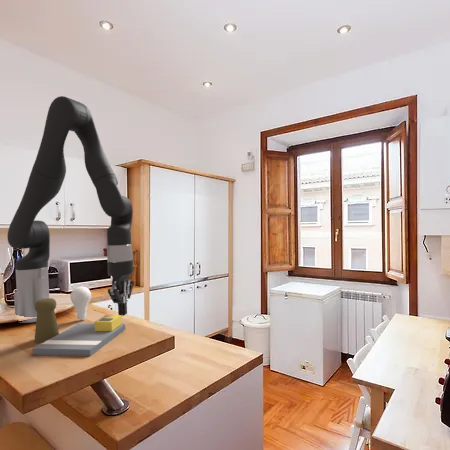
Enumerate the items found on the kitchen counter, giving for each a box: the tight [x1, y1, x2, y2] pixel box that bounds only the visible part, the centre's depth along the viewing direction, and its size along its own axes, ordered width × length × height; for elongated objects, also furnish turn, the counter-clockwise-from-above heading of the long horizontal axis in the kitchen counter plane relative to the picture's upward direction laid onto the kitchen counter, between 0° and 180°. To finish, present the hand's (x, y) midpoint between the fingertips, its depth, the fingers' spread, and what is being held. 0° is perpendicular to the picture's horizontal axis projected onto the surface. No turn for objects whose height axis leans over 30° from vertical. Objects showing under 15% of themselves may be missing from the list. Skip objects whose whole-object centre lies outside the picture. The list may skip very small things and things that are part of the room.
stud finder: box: [94, 314, 123, 331], centre depth 88 cm, size 5×6×3 cm
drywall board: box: [32, 323, 126, 357], centre depth 83 cm, size 15×18×2 cm
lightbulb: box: [69, 285, 92, 321], centre depth 101 cm, size 6×6×11 cm
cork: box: [33, 297, 60, 344], centre depth 85 cm, size 6×6×11 cm
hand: (122, 314), depth 96 cm, fingers closed
